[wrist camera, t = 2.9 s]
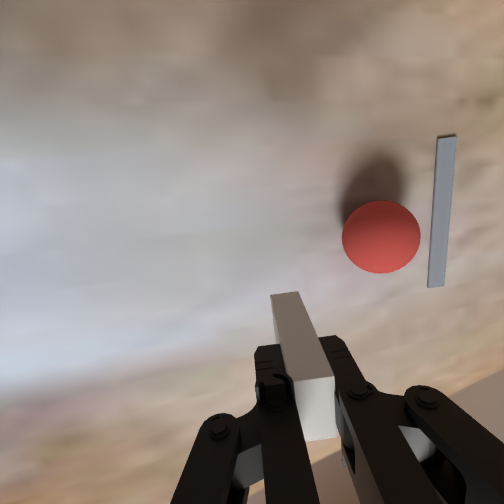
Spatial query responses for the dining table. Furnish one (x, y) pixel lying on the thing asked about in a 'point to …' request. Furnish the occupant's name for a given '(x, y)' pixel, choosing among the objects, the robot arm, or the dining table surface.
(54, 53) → the dining table surface
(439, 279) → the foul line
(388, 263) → the ball
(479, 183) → the dining table surface
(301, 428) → the robot arm
